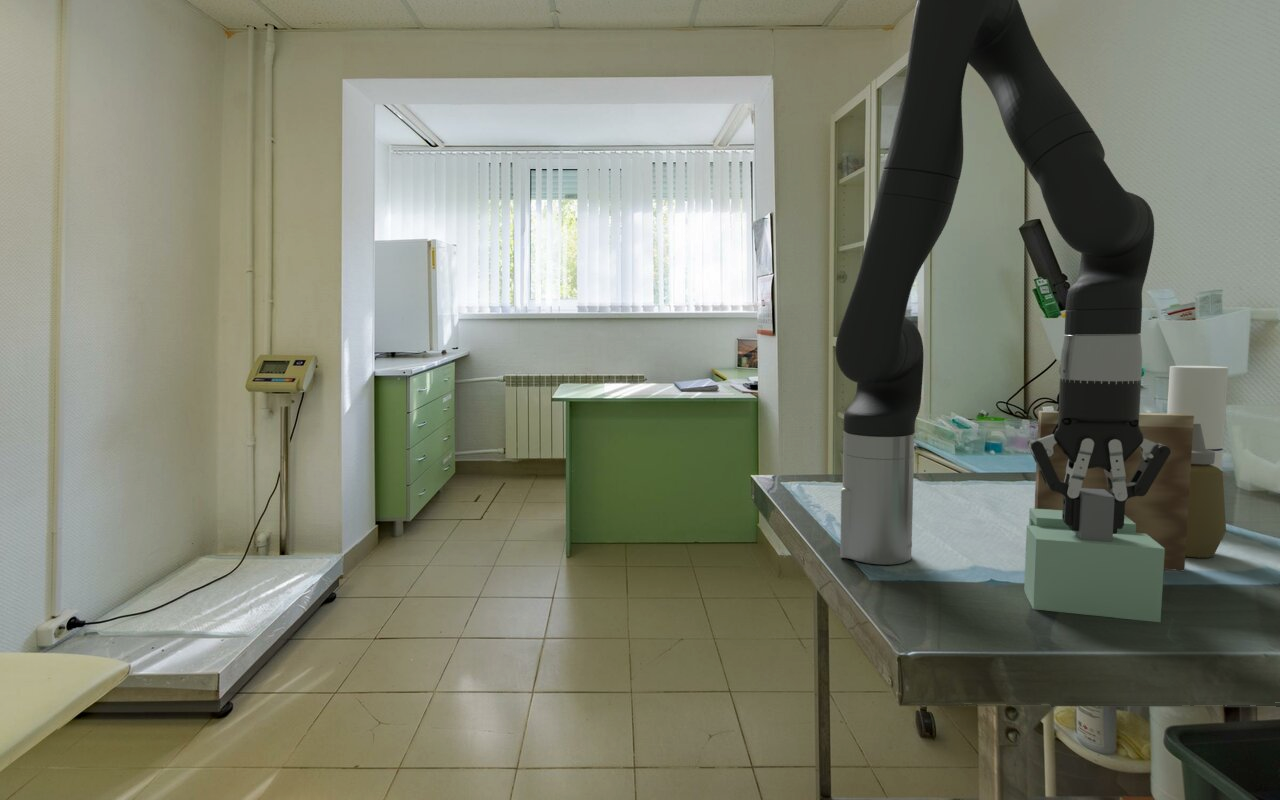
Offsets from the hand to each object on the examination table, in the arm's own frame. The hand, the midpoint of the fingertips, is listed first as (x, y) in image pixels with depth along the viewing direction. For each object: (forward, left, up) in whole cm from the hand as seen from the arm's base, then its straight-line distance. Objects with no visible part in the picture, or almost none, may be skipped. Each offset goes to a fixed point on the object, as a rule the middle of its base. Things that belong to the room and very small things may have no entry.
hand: (1092, 529), depth 80 cm
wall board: (+6, +20, -9) cm, 23 cm away
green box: (0, +2, -9) cm, 9 cm away
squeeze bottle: (+18, +26, -9) cm, 33 cm away
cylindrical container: (+23, +42, -9) cm, 49 cm away
